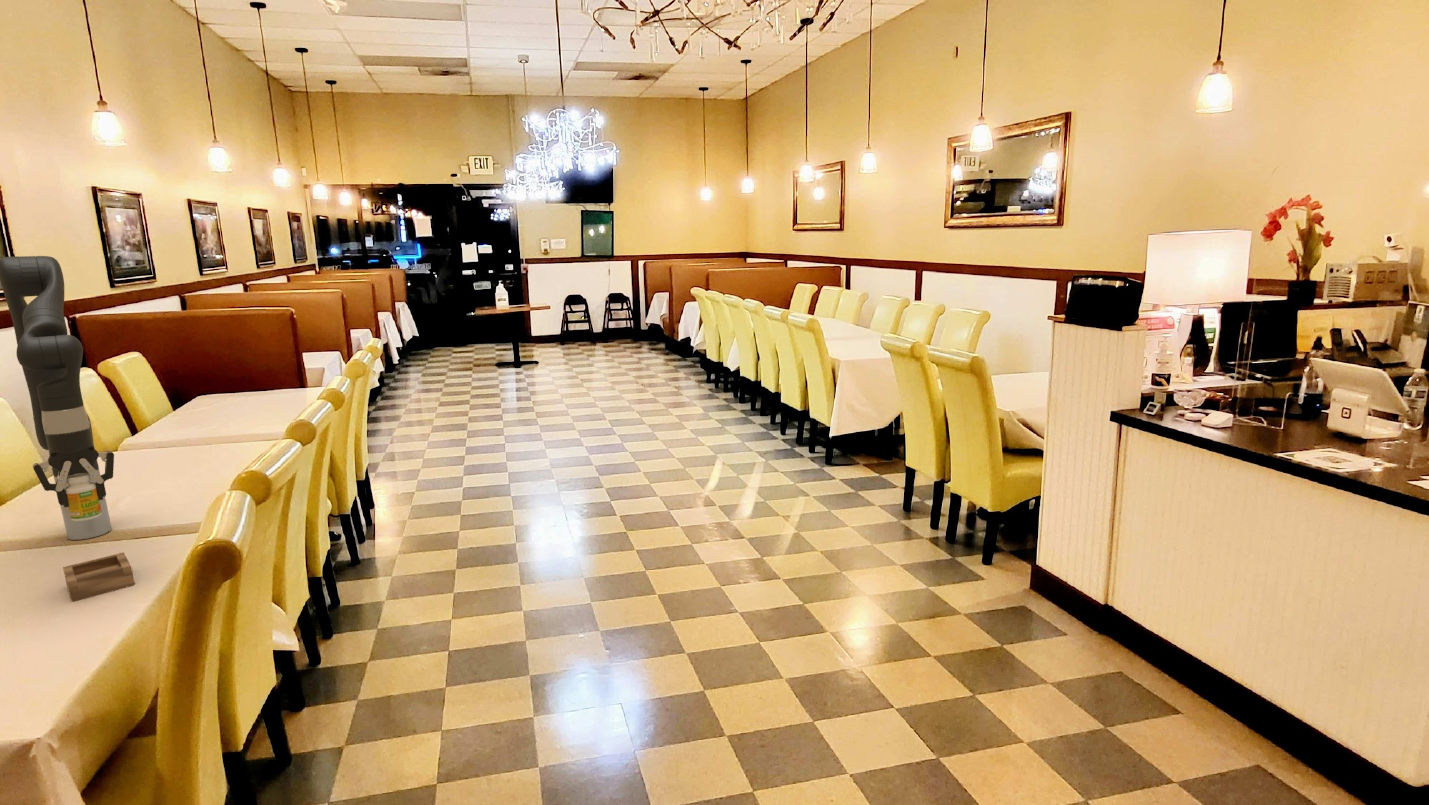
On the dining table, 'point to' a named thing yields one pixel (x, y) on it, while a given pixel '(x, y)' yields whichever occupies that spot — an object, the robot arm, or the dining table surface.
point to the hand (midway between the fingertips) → (83, 502)
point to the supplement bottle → (82, 497)
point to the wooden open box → (98, 576)
